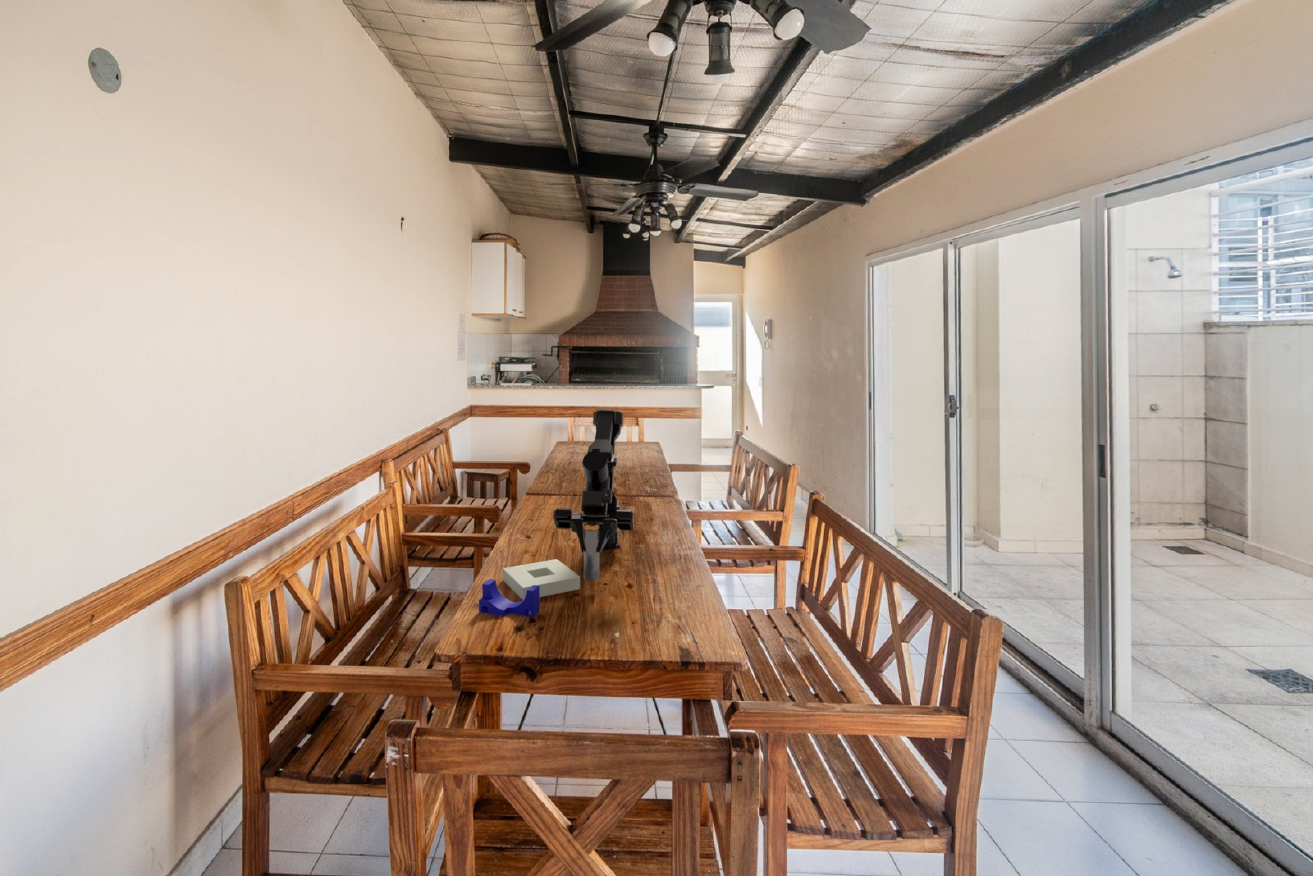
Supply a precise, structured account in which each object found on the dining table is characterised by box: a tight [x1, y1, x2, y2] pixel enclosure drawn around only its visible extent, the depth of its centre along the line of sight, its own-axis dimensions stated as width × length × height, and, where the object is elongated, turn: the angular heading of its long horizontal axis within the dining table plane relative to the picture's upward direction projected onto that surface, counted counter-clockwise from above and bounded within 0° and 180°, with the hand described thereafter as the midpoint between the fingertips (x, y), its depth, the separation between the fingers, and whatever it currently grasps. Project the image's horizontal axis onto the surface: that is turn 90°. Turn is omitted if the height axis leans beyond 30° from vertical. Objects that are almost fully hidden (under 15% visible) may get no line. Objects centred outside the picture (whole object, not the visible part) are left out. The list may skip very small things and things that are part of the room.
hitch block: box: [502, 558, 581, 601], centre depth 152 cm, size 14×14×3 cm
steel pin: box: [583, 523, 600, 582], centre depth 148 cm, size 4×4×13 cm
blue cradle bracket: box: [478, 578, 541, 618], centre depth 136 cm, size 12×4×6 cm, turn 74°
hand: (590, 552), depth 146 cm, fingers closed on steel pin, 4 cm apart
